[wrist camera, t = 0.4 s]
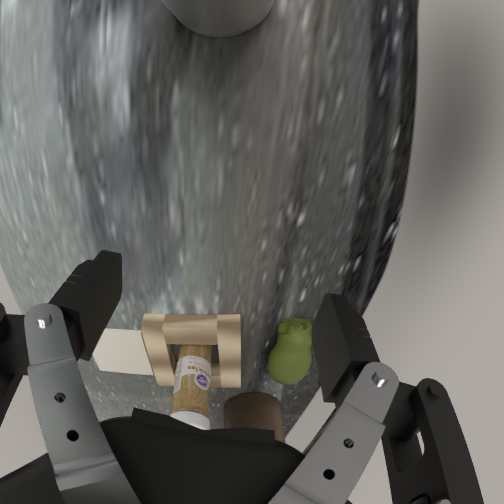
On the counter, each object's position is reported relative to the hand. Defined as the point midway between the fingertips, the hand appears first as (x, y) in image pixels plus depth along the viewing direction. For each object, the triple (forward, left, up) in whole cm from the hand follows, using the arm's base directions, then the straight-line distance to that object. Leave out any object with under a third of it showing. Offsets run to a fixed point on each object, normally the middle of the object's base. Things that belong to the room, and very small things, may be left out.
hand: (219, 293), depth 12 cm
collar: (+24, -5, -19) cm, 31 cm away
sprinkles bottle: (+24, -5, -20) cm, 32 cm away
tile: (+26, -16, -19) cm, 36 cm away
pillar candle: (+40, +3, -20) cm, 45 cm away
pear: (+23, +8, -20) cm, 31 cm away
